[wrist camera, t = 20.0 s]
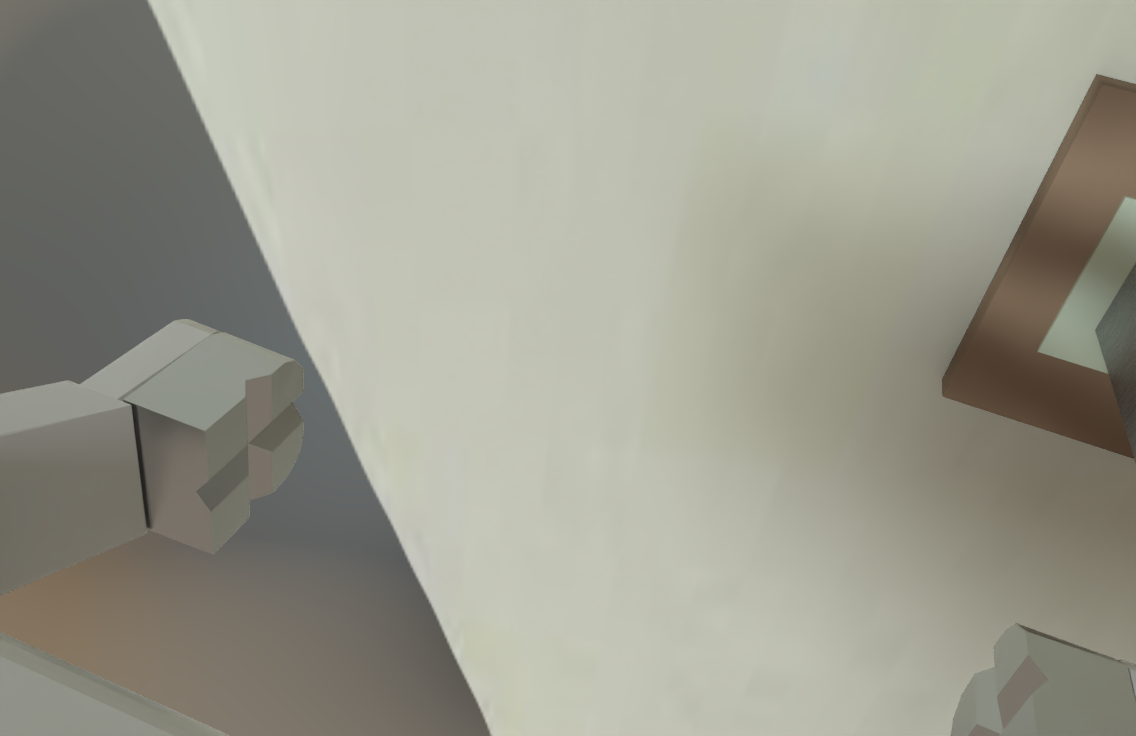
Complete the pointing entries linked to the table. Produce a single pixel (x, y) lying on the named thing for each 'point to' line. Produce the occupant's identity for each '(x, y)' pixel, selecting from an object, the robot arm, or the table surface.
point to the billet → (1122, 351)
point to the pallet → (1061, 285)
